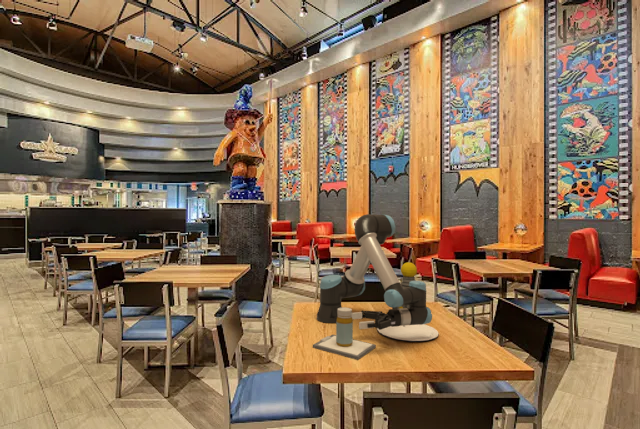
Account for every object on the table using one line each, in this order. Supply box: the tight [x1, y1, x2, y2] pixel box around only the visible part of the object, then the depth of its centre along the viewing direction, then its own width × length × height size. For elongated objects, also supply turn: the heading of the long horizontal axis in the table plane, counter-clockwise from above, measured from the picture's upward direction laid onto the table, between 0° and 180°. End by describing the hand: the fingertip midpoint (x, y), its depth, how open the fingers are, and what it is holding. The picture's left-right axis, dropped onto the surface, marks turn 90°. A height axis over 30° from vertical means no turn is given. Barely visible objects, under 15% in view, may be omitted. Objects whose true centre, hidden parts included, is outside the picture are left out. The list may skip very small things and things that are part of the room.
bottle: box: [335, 307, 354, 347], centre depth 148 cm, size 7×7×15 cm
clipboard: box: [312, 334, 377, 361], centre depth 148 cm, size 22×16×2 cm
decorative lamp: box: [391, 262, 418, 309], centre depth 201 cm, size 19×19×30 cm
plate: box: [376, 324, 439, 342], centre depth 168 cm, size 29×29×2 cm
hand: (353, 320), depth 149 cm, fingers open, 13 cm apart
